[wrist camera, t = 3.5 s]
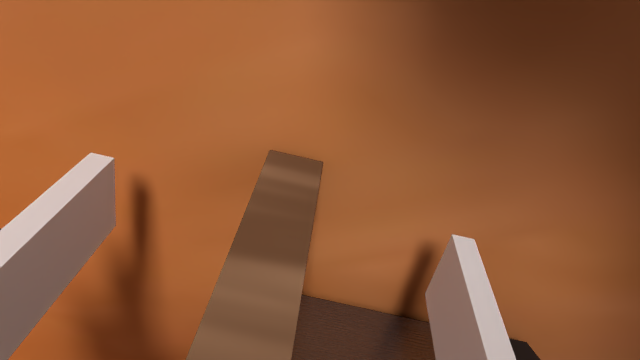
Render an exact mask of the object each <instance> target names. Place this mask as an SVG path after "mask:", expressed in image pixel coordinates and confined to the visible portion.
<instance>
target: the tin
mask: <svg viewBox="0 0 640 360" xmlns="http://www.w3.org/2000/svg"><path fill="white" fill-rule="evenodd" d="M291 360H436V358H435V352H434V346H433V340H432V334H431V328H430V323H428V322H424V321H419V320H415V319H410V318H405V317H401V316H396V315H392V314H387V313H382V312H378V311H373V310H369V309H364V308H360V307H355V306H350V305H346V304H341V303H337V302H332V301H328V300H323V299H318V298H314V297H309V296H305V295H301V301H300V307H299V314H298V320H297V326H296V332H295V338H294V344H293V351H292V357H291Z"/></svg>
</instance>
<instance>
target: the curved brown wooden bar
mask: <svg viewBox="0 0 640 360" xmlns="http://www.w3.org/2000/svg"><path fill="white" fill-rule="evenodd" d="M322 166H323V162H321V161H317V160H312V159H308V158H304V157H299V156H295V155H290V154H286V153H282V152H277V151H273V150H270V151H269V153H268V156H267V158H266V161H265V163H264V166H263V168H262V171H261V173H260V176H259V178H258V181H257V183H256V186H255V188H254V191H253V193H252V196H251V198H250V201H249V203H248V206H247V208H246V211H245V213H244V216H243V218H242V221H241V223H240V226H239V228H238V231H237V233H236V236H235V238H234V241H233V243H232V246H231V248H230V251H229V253H228V256H227V258H226V261H225V263H224V266H223V268H222V271H221V273H220V275H219V278H218V280H217V283H216V285H215V288H214V290H213V293H212V295H211V298H210V300H209V303H208V305H207V308H206V310H205V313H204V315H203V318H202V320H201V323H200V325H199V328H198V330H197V333H196V335H195V338H194V340H193V343H192V345H191V348H190V350H189V353H188V355H187V358H186V360H291V357H292V351H293V344H294V338H295V332H296V326H297V320H298V314H299V307H300V301H301V295H302V289H303V283H304V277H305V271H306V264H307V258H308V252H309V246H310V240H311V234H312V228H313V221H314V215H315V209H316V203H317V197H318V191H319V185H320V178H321V172H322Z"/></svg>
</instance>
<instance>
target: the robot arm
mask: <svg viewBox="0 0 640 360" xmlns="http://www.w3.org/2000/svg"><path fill="white" fill-rule="evenodd" d="M115 226H116V217H115V169H114V158H112V157H108V156H103V155H99V154H94V153H90V154H88V155H87V156H86V157H85V158H84V159H83V160H81V161H80V162H79V163H78V164H77V165H76V166H75V167H73V168H72V169H71V170H70V171H69V172H68V173H66V174H65V175H64V176H63V177H62V178H61V179H59V180H58V181H57V182H56V183H55V184H54V185H52V186H51V187H50V188H49V189H48V190H47V191H45V192H44V193H43V194H42V195H41V196H40V197H38V198H37V199H36V200H35V201H34V202H33V203H31V204H30V205H29V206H28V207H27V208H26V209H25V210H23V211H22V212H21V213H20V214H19V215H18V216H16V217H15V218H14V219H13V220H12V221H11V222H9V223H8V224H7V225H6V226H5V227H4V228H2V229H0V360H8V359H9V358H10V356H11V355H12V354H13V353H14V351H15V350H16V349H17V348H18V346H19V345H20V344H21V343H22V341H23V340H24V339H25V338H26V336H27V335H28V334H29V333H30V331H31V330H32V329H33V328H34V327H35V325H36V324H37V323H38V322H39V320H40V319H41V318H42V317H43V315H44V314H45V313H46V312H47V310H48V309H49V308H50V307H51V305H52V304H53V303H54V302H55V300H56V299H57V298H58V297H59V295H60V294H61V293H62V292H63V290H64V289H65V288H66V287H67V285H68V284H69V283H70V282H71V281H72V279H73V278H74V277H75V276H76V274H77V273H78V272H79V271H80V269H81V268H82V267H83V266H84V264H85V263H86V262H87V261H88V259H89V258H90V257H91V256H92V254H93V253H94V252H95V251H96V249H97V248H98V247H99V246H100V244H101V243H102V242H103V241H104V240H105V238H106V237H107V236H108V235H109V233H110V232H111V231H112V230H113V228H114V227H115ZM425 298H426V304H427V310H428V316H429V322H430V328H431V334H432V340H433V346H434V352H435V358H436V360H540V359H539V358H538V356H537V355H536V354H535V352H534V351H533V350H532V349H531V347H530V346H529V345H528V343H527V342H523V341H518V340H514V339H509V337H508V335H507V332H506V329H505V326H504V323H503V320H502V317H501V314H500V312H499V309H498V306H497V303H496V300H495V297H494V294H493V291H492V289H491V286H490V283H489V280H488V277H487V274H486V271H485V268H484V266H483V263H482V260H481V257H480V254H479V251H478V248H477V245H476V243H475V240H474V239H471V238H466V237H462V236H457V235H453V234H452V236H451V238H450V240H449V242H448V244H447V247H446V249H445V251H444V253H443V255H442V257H441V260H440V262H439V264H438V266H437V268H436V271H435V273H434V275H433V277H432V279H431V282H430V284H429V286H428V288H427V290H426V292H425Z"/></svg>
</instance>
